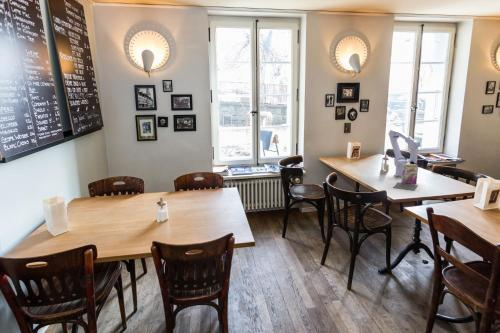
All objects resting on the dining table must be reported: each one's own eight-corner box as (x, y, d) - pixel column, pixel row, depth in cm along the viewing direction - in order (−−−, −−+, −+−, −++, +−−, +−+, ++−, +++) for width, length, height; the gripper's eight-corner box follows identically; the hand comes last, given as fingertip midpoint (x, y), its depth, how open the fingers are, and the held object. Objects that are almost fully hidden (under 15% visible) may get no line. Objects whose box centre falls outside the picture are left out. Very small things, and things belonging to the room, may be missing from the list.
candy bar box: (403, 183, 275) (404, 165, 271) (401, 182, 280) (402, 163, 276) (416, 183, 274) (418, 165, 270) (414, 182, 279) (416, 163, 275)
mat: (397, 182, 278) (397, 182, 278) (418, 185, 269) (418, 185, 268) (393, 187, 265) (393, 187, 265) (414, 190, 256) (414, 190, 256)
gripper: (406, 152, 289) (405, 167, 292) (411, 156, 275) (409, 171, 278) (415, 152, 287) (413, 167, 290) (420, 156, 273) (418, 171, 277)
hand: (412, 169), depth 284 cm, fingers closed
